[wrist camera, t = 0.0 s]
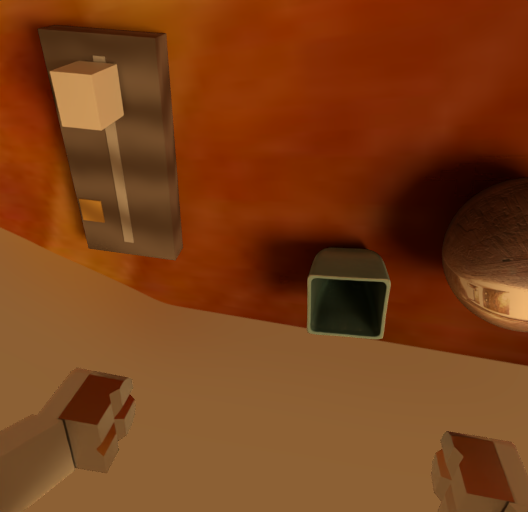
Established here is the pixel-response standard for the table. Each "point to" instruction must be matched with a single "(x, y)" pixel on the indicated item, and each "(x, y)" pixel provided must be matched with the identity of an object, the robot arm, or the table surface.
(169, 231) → the track board
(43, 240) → the table surface
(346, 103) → the table surface
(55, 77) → the fader
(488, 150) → the table surface
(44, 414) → the robot arm
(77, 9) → the table surface
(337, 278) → the flower pot
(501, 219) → the brown leather ball
